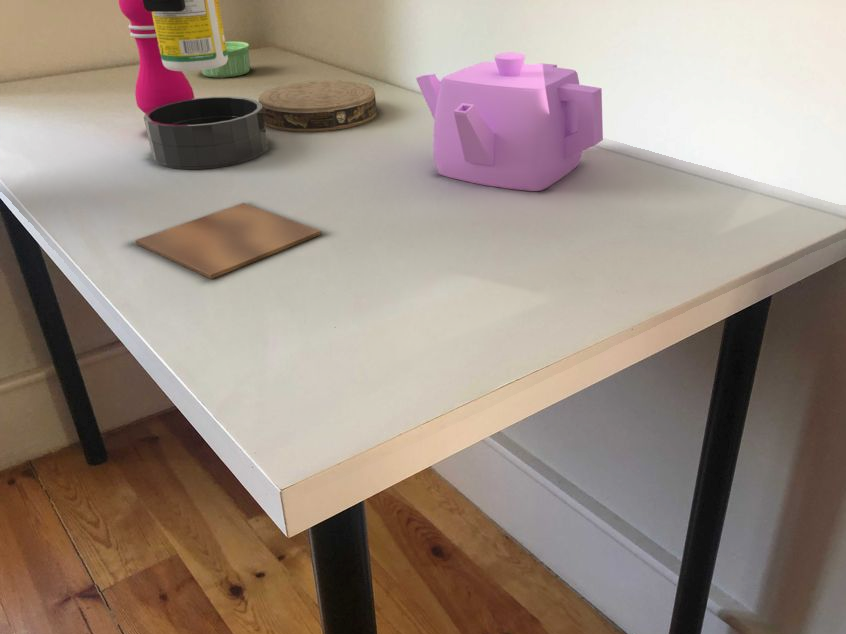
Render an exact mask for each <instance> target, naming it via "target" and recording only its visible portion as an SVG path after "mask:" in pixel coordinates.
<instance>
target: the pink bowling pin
mask: <svg viewBox="0 0 846 634" xmlns="http://www.w3.org/2000/svg"><path fill="white" fill-rule="evenodd" d="M118 6H119V9H120V12H121V13H122V14H123V15H124V16H125V18H127V19H128V20H129V22H130V23H129V24H128V29H129V31H130V33H129V34H130V37H132V38H134V40H135V43H136V46H137V50H138V56H139V67H138V68H139V69H138V75H137V79H136V83H135V90H134V96H135V102H136V106H137V107H138V109H139V110H140V111H141V112H142V113H144V114H145V113H146V112H148V111H150V110H151V109H153V108H155V107H158V106H161V105H164V104H168V103H172V102H176V101H181V100H187V99H194V98H196V97H195V93H194V90H193V88H192V85H191V83H190V81H189V79H188V78H187V77H186V75H185V74H184V71H173V70H169V69H167V68H165V67H164V65H163V63H162V58H161V55H160V50H159V46H158V40H157V35H156V31H155V26H154V21H153V16H152V12H150V11H147V10H146V9H145V8H144V4H143V0H118Z"/></svg>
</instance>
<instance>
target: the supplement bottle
mask: <svg viewBox="0 0 846 634" xmlns="http://www.w3.org/2000/svg"><path fill="white" fill-rule="evenodd" d="M184 1H185V9H184V10H183V11H179V12H152V16H153V21H154V26H155V31H156V35H157V40H158V46H159V50H160V55H161V58H162V63H163V65H164V67H165V68H167V69H169V70H173V71H182V72H198V71H201V70H209V69H214V68H218V67H221V66H223V65H225V64H226V63H227V60H228V56H227V49H226V43H225V42H226V37H225V32H224V25H223V21H222V20H223V18H222V12H221V7H220V1H219V0H184ZM201 72H202V71H201Z"/></svg>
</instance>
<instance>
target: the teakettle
mask: <svg viewBox="0 0 846 634" xmlns="http://www.w3.org/2000/svg"><path fill="white" fill-rule="evenodd" d="M525 60H526V55H525V54H523V53H520V52H500V53H497V54H495V55H494V61H482V62H479V63H476V64H473V65H469V66H467V67H464V68H462V69H460V70H456V71H454V72H452V73H450V74H447V75H445V76H443V77H442V79H439V78H438V77H437V74H436V73H431V74H423V75H420V76H417V77H416V78H415V79H416V83H417V85H418V87H419V90H420V92H421V93H422V95H423V98H424V101H425V102H426V105H427V107H428V109H429V111H430V114H431V116H432V118H433V134H432V136H433V138H432V144H433V145H432V151H433V152H432V153H433V159H434V163H435V165H436V168H437V171H438V173H439V175H440V176H444V177H446V178H450V179H455V180H459V181H463V182H467V183H472V184H477V185H481V186H482V185H483V186H487V187H495V188H502V189H509V190H517V191H526V192H527V191H528V192H541V191H544V190H545V189H547V188H549V187H550V186H553V185H554V184H556V183H557V182H558V181H560V180H561V179H562V178H564V177H565V176H567V175H568V174H570V173H571V172H572V171H573V170H574V169H576V168H577V167H578V165H579V164H580V161H581V158H582V155H583V152H584V151H586V150H588V149H590V148H593V147H595V146H597V145H598V144H599V143H600V142H603V141H604V131H603V130H604V129H603V128H604V127H603V93H602V91H603V90H602V87H597V86H590V85H583V84H580V79H579V74H578V72H577V71H576V70H575V69H570V68H564V67H558V64H552V63H543V62H540V63H537V64H528V63H525Z"/></svg>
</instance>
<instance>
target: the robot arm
mask: <svg viewBox="0 0 846 634" xmlns="http://www.w3.org/2000/svg"><path fill="white" fill-rule="evenodd" d="M143 4H144V8H145V9H146V10H147V11H150V12H179V11H183V10H184V9H185V1H184V0H143Z"/></svg>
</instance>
